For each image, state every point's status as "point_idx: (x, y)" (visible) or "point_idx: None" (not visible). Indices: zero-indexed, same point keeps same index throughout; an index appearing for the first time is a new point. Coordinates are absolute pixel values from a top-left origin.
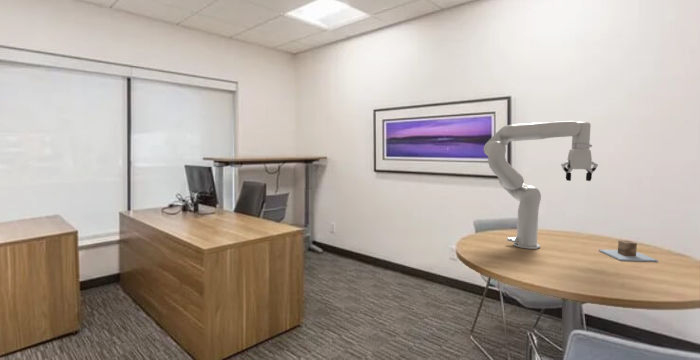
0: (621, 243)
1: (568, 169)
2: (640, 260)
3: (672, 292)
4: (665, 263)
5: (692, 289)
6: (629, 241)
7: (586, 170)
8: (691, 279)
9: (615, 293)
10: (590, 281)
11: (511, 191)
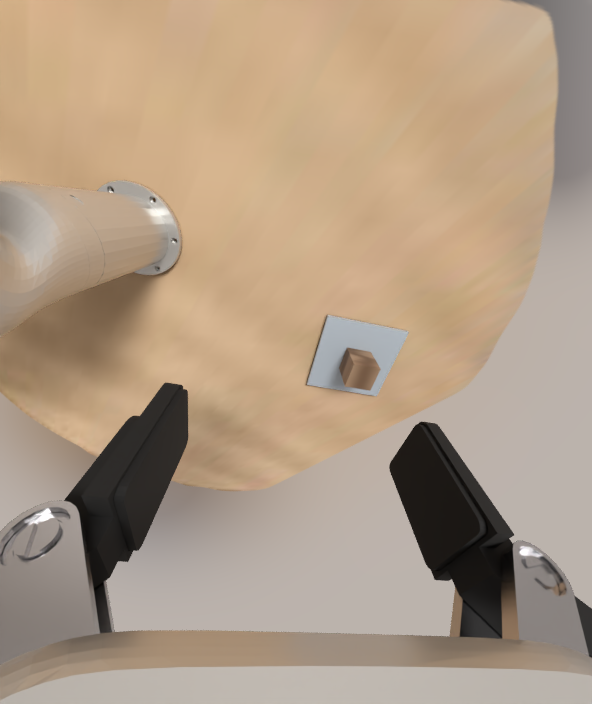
0: (348, 371)
1: (43, 625)
2: (345, 390)
3: (259, 477)
4: (382, 399)
5: (293, 473)
6: (372, 374)
7: (510, 603)
8: (333, 453)
9: (185, 475)
10: None
11: None
